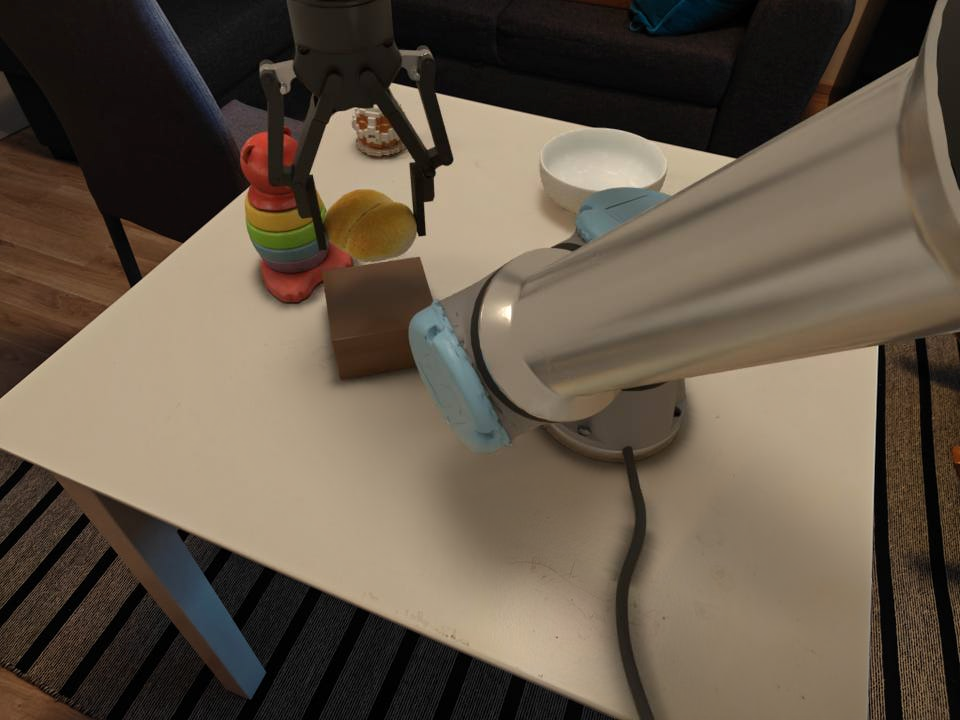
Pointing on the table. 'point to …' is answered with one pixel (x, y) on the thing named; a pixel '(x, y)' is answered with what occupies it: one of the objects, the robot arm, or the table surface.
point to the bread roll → (370, 226)
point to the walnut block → (374, 314)
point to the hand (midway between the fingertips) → (371, 234)
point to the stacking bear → (284, 227)
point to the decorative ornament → (375, 132)
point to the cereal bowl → (598, 164)
